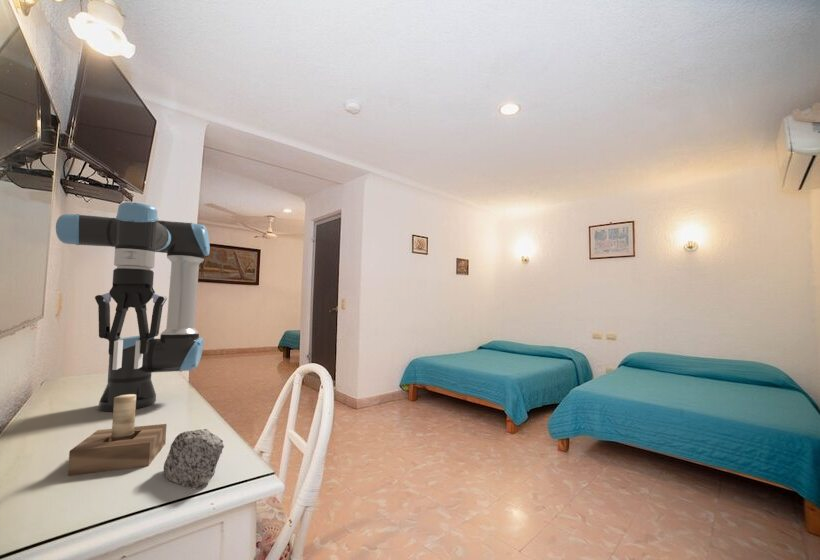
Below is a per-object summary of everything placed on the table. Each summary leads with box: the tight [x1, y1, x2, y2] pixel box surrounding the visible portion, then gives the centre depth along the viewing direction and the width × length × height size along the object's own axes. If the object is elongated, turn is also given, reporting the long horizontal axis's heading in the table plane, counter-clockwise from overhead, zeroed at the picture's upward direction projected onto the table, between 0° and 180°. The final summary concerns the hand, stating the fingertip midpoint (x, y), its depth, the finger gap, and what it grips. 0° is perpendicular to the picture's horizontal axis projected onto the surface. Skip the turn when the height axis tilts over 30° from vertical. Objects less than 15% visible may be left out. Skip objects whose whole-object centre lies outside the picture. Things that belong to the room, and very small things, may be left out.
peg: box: [111, 394, 136, 441], centre depth 80 cm, size 4×4×14 cm
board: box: [67, 423, 168, 476], centre depth 80 cm, size 12×14×5 cm
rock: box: [163, 428, 225, 490], centre depth 72 cm, size 16×8×10 cm, turn 47°
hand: (127, 368), depth 81 cm, fingers open, 3 cm apart
